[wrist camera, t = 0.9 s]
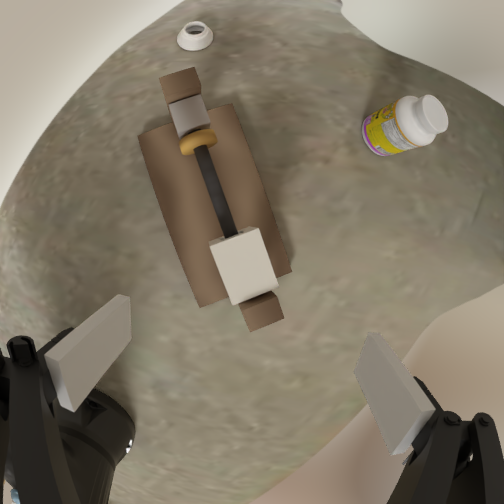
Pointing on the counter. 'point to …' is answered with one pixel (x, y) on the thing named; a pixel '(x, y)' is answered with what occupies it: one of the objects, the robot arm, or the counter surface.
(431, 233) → the counter surface
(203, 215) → the brown stand with rod
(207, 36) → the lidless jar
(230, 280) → the sleeve
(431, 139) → the supplement bottle
